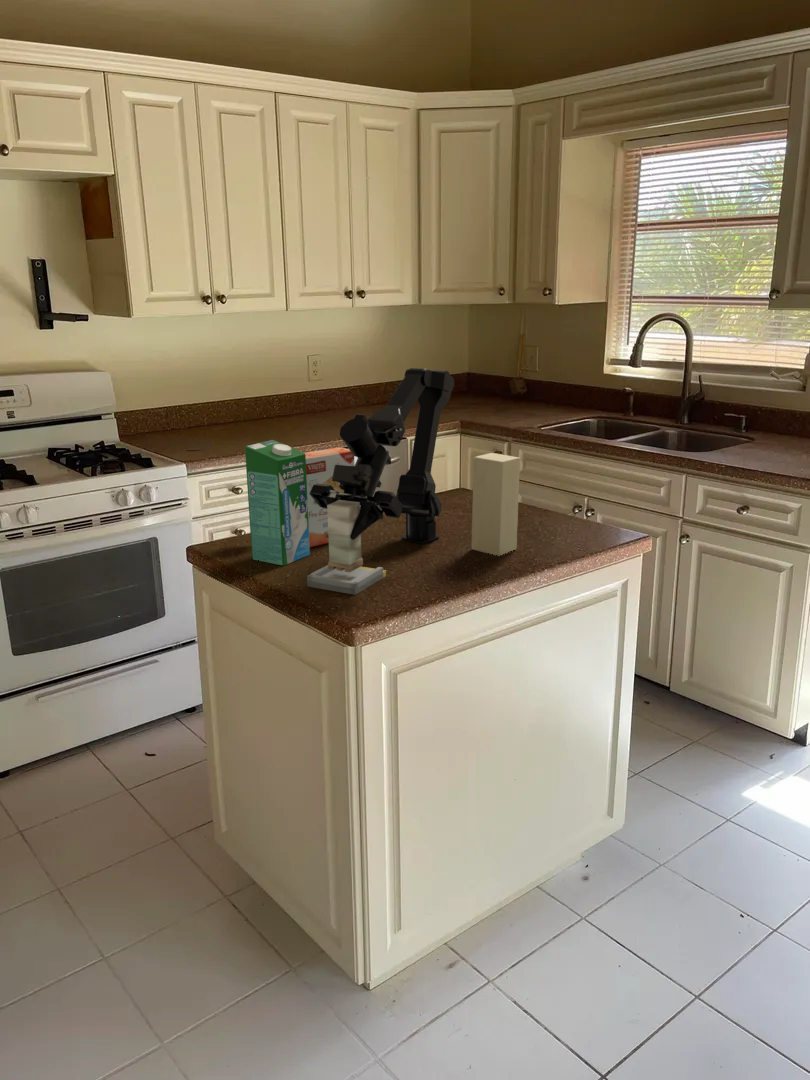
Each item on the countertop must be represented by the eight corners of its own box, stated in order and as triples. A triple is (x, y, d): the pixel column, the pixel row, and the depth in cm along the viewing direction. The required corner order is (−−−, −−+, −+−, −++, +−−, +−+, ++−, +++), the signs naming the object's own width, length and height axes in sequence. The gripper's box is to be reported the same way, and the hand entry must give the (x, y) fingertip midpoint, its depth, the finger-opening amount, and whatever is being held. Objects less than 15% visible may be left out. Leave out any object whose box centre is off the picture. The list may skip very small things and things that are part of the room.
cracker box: (308, 549, 193) (304, 457, 187) (293, 543, 197) (289, 454, 191) (357, 537, 202) (355, 449, 196) (342, 531, 206) (339, 445, 200)
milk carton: (283, 566, 182) (277, 449, 174) (251, 559, 186) (244, 445, 179) (310, 554, 189) (305, 442, 182) (278, 548, 194) (272, 438, 186)
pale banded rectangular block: (341, 561, 174) (339, 499, 170) (362, 565, 172) (361, 502, 168) (328, 568, 170) (325, 505, 166) (350, 572, 168) (347, 508, 164)
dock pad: (340, 568, 180) (339, 558, 179) (386, 576, 175) (385, 565, 174) (307, 586, 169) (307, 575, 169) (355, 594, 164) (355, 584, 164)
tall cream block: (519, 549, 191) (522, 456, 185) (499, 556, 186) (501, 461, 180) (491, 542, 196) (492, 451, 190) (471, 549, 191) (472, 456, 185)
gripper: (312, 444, 171) (283, 510, 165) (394, 451, 163) (366, 522, 157) (334, 474, 180) (307, 538, 174) (413, 483, 172) (388, 550, 166)
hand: (341, 537), depth 168 cm, fingers closed on pale banded rectangular block, 5 cm apart
